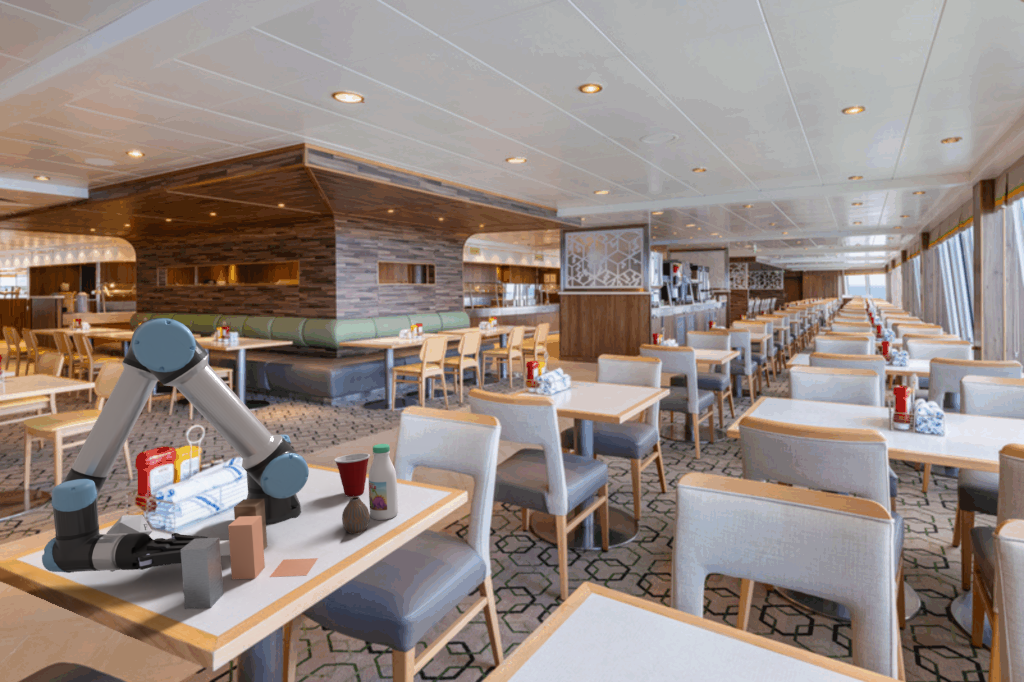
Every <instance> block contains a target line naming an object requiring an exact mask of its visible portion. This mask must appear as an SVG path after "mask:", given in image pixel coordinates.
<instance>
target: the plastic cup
mask: <svg viewBox="0 0 1024 682" xmlns="http://www.w3.org/2000/svg"><path fill="white" fill-rule="evenodd" d="M370 457H371V454H369V453H350V454H344V455H342V456H337V457H335V458H334V459H333V460H334V462H335V464H336V466H337V469H338V473H339V477H340V482H341V485H342V489H343V493H344V495H345V496H346V497H349V498H352V497H360V496H361V495H363V494H364V492H365V489H366V488H365V486H366V482H367V481H366V480H367V472H368V463H369V459H370Z"/></svg>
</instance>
